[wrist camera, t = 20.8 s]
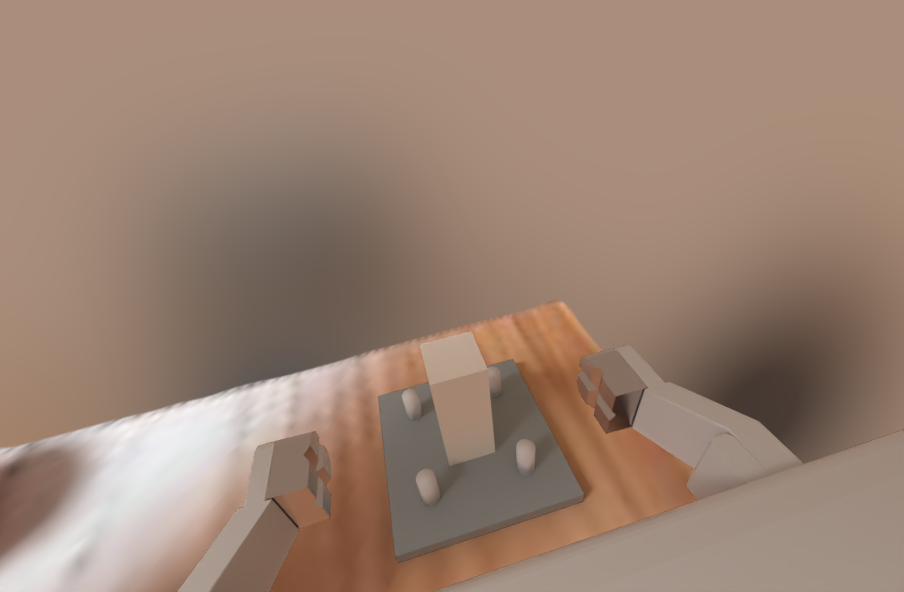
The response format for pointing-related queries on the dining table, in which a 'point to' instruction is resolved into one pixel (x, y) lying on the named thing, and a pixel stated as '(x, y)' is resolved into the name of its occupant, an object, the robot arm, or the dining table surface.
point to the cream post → (460, 396)
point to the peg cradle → (470, 468)
